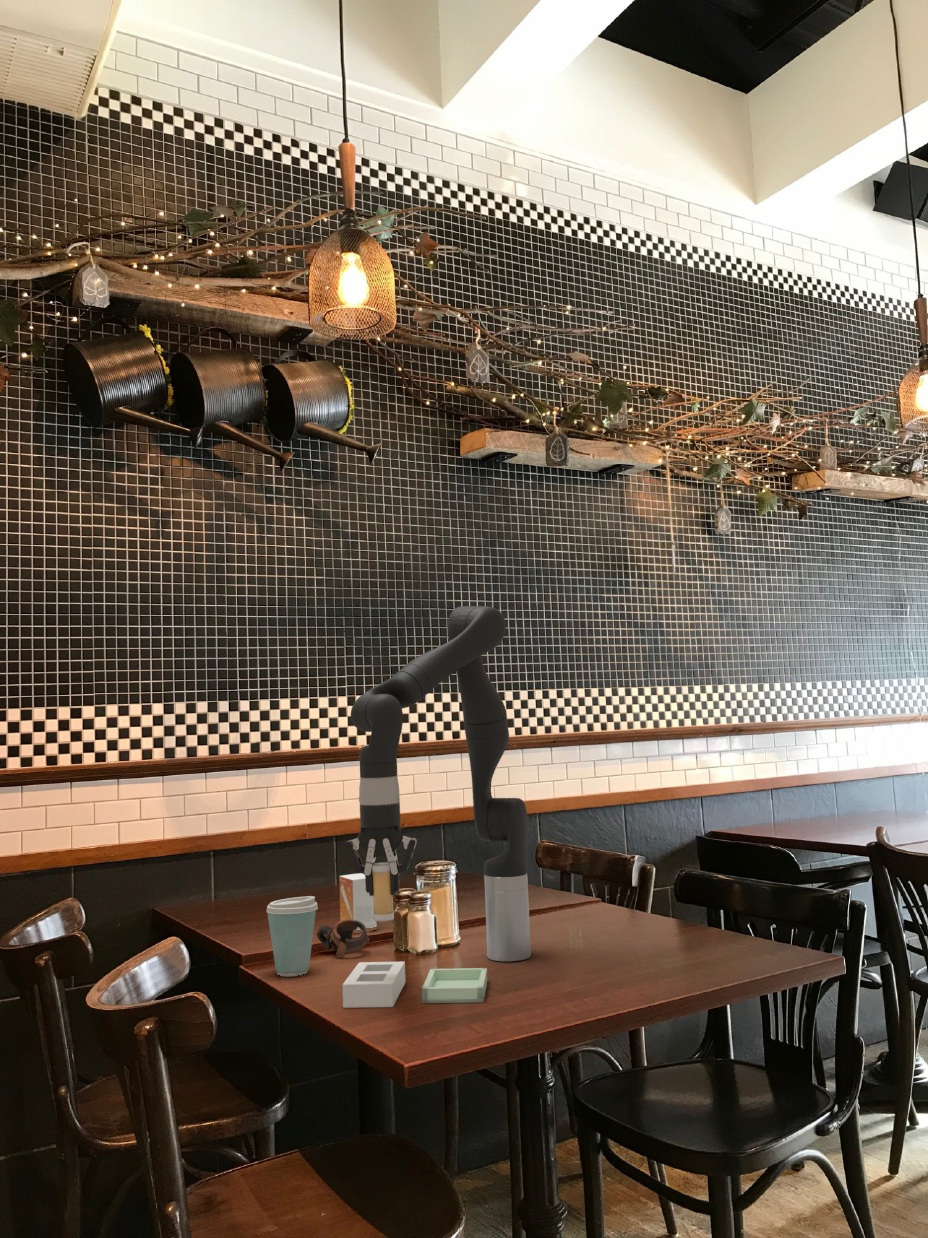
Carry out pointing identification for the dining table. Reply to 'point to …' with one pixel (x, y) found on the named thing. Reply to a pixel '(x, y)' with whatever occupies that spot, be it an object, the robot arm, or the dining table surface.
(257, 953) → the dining table surface
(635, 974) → the dining table surface
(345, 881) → the small box
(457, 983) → the parts tray
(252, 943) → the dining table surface
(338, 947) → the pottery mug
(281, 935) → the disposable coffee cup
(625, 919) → the dining table surface
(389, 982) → the frame
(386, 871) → the fuse
